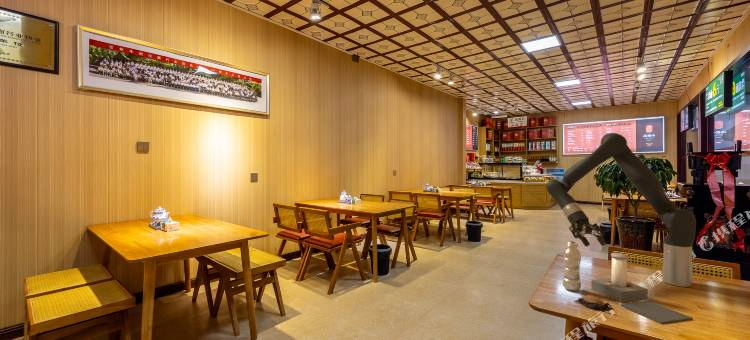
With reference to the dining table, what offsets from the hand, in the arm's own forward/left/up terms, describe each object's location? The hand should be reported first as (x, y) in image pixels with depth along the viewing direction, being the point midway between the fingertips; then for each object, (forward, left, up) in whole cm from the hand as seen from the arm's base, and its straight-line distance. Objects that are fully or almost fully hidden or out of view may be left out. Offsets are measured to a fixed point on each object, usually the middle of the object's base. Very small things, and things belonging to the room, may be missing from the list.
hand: (596, 245), depth 143 cm
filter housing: (0, +11, -17) cm, 20 cm away
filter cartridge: (0, +11, -17) cm, 20 cm away
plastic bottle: (+15, +3, -18) cm, 23 cm away
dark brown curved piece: (+19, +17, -18) cm, 31 cm away
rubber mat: (+3, +27, -17) cm, 32 cm away
